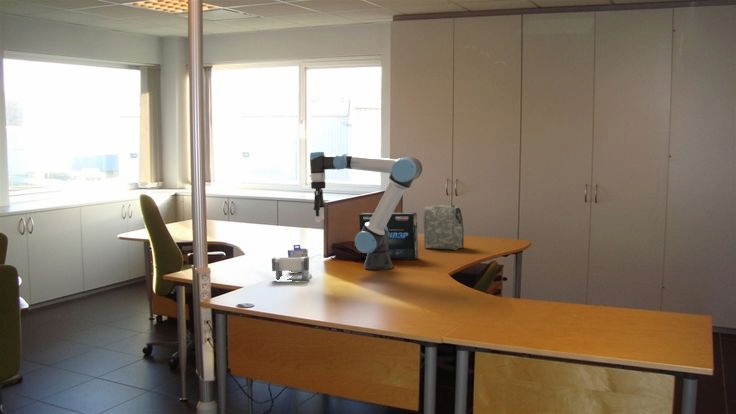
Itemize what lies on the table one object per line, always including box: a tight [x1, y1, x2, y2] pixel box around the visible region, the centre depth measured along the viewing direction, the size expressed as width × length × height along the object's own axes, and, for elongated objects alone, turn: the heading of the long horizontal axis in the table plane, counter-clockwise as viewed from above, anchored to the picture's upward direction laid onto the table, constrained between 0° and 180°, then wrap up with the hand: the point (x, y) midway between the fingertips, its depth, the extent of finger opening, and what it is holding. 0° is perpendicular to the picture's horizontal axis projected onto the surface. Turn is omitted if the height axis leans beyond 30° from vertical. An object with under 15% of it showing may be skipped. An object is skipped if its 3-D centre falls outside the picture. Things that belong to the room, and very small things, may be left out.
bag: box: [422, 204, 465, 251], centre depth 428 cm, size 22×16×27 cm
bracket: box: [275, 261, 312, 282], centre depth 344 cm, size 18×12×10 cm, turn 86°
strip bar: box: [271, 256, 310, 272], centre depth 343 cm, size 18×4×6 cm, turn 86°
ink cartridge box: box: [287, 244, 310, 272], centre depth 363 cm, size 10×6×14 cm, turn 114°
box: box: [358, 212, 419, 261], centre depth 396 cm, size 33×8×27 cm, turn 68°
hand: (319, 221), depth 364 cm, fingers open, 13 cm apart
